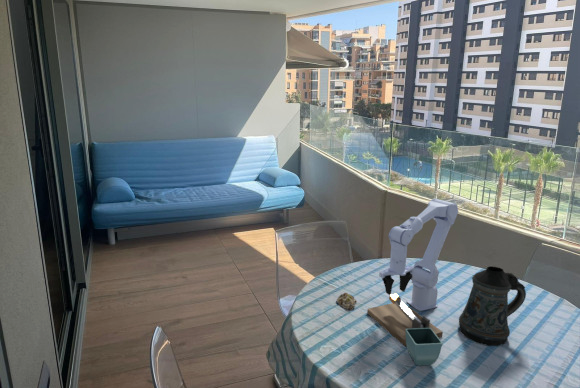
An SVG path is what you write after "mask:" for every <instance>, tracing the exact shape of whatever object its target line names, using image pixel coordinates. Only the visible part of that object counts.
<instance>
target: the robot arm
mask: <svg viewBox="0 0 580 388" xmlns="http://www.w3.org/2000/svg"><path fill="white" fill-rule="evenodd" d="M458 214H459V207H458V204H457V203H455V202H450V201H447V200H443V199H438V198H435V197H434V198H432V199H431V200H430V201H428V204H427V206H426V207H425V209H424V210H422V212H420V213H419V214H418V215H417V216H410V217H409V218H408V219H406V220H405V221H404V222H402V223H401V224H400V225H399V226H397V225H396V226H393V227H392V228H391V229H390V231H389V232H388V239H389V244H390V256H389V257H390V259H389V267H387V268H385V269H383V270H381V271H379V278H381V279H382V282H383V284H384V289H385V293H386V294H387V295H389V296H390V295H392V291H393V290H392V289H393V285H394V282H395V279H393V278H392V277H393V276H398V277H399V290H400V291H401V292H403V293H404V292H405V291H406V289H407V286H408V284H409V283H410V281H411V284H412V291H411V292H412V294H411V299H409V300H406V303H407V304H408V305H410V306H412V307H413V308H414V309H415V310H417V311H419V312H422V311H427V310H430V309H434V308H438V305H437V302H438V301H437V300H438V294H439V293H438V287H437V284H438V281H439V275H440V271H439V269H438V267H437V265H436V263H437V262H438V259H439V256H440V254H441V251H442V250H443V249H442V248H443V246H444V243H445V241H446V239H447V236H448V234H449V232H450V229H451V227H452V226H453V225H454V223H455V221H456V219H457V216H458ZM432 219H433V220H434V221H435V223H436V225H435V227H434V229H433V231H432V235H431V237H430V240H429V242H428V244H427V247H426V249H425V252H424V254H423V256H422V259H420V260H418V261H416V262H415V263H414V265H413V266H412V265H406V263H407V253H408V246H409V244H410V243H411V241H412V240H413V238H414V237H415V236H414V235H416V234H417V233H419V232H420V231H421V230H422V229H423V226H424V224H425V223H427V222H428V221H430V220H432Z"/></svg>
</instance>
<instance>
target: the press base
mask: <svg viewBox="0 0 580 388" xmlns="http://www.w3.org/2000/svg"><path fill="white" fill-rule="evenodd" d="M405 305H406V306H407V307H408V308H409V309H410V310H411V312H412V313H413V314H414V315H415V316H416V317H417V318H418V319H419V320H420V321H421V322H422V323H424V325H425V328H431V329H432V330H433V331H434V333H435V334H436V335H437V337H438V338H439V339H440V338H442V337H443V334H444V332H443V331H442V330H441V329H439V328H438V327H437V326H436V325H434V324H433V323H431V321H430V319H428V318H427V317H425V316H422V315H420V314H419V313H417V312H416V311H415V310H413V308H411V307H410V306H408V305H407V304H405ZM366 310H367V311H366V312H367V313H366V314H367V315H369V316H370V317H371V318H372V319H373V320H374V321H375V322H376V323H378V324H379V325H380V326H381V327H382V328H383V329H384V330H385V331H387V332H388V333H389V334H390V335H391V336H392V337H393V338H395V339H396V340H397V341H398V342H399V343H400V344H402V345H403V346H404V347H405V348H407V345H406V332H405V329H413V328H420V326H421V323H420V322H419V321H417V320H416V319H413V320H412V322H411V321H410V320H409V319H408V318H407V317H406V315H405V314H404V313H403V312H402V311H401V310H400V309H399V308H398V307H397V306H396V305H395V304H393V303H392V302H391V303H389V304H382V305H379V306H374V307H370V308H369V307H368V308H367V309H366Z"/></svg>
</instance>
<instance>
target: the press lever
mask: <svg viewBox="0 0 580 388" xmlns="http://www.w3.org/2000/svg"><path fill="white" fill-rule="evenodd" d="M388 299H389V301H390V302H391V303H393V304H395V305H396V306H397V307H398V308H399V309H400V310H401V311H402V312H403V313H404V314H405V315H406V317H407V318H408V319H409V320H410V321H411V322H412V320H413V319H416V320H417V321H419V322H420V323H421V326H420V328H425V325H424V323H422V322H421V321H420V320H419V319H418V318H417V317H416V316H415V315H414V314H413V313H412V312H411V310H410V309H409V308H410V307H409V306H408V305H407V304H405V303H404V302H403V301H402V298H401V297H400V296H399V295H398V294H397V293H394V294H391V295H389V297H388ZM406 305H407V306H408V307H409V308H408V307H407V306H406Z"/></svg>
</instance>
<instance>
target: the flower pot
mask: <svg viewBox="0 0 580 388" xmlns="http://www.w3.org/2000/svg"><path fill="white" fill-rule="evenodd" d="M405 332H406V345H407V347H406V348H407V351H408V353H409V355H410V357H411V359H412V360H413V363H415V365H416V366H431V365H433V364H434V363H436V362H437V361H438V359H439V357H440V354H441V350H442V348H443V347H442V346H443V341H442V340H441V339H440V338H438V337H437V335H436V334H435V333H434V331H433V330H432V329H431V328H413V329H405Z"/></svg>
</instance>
